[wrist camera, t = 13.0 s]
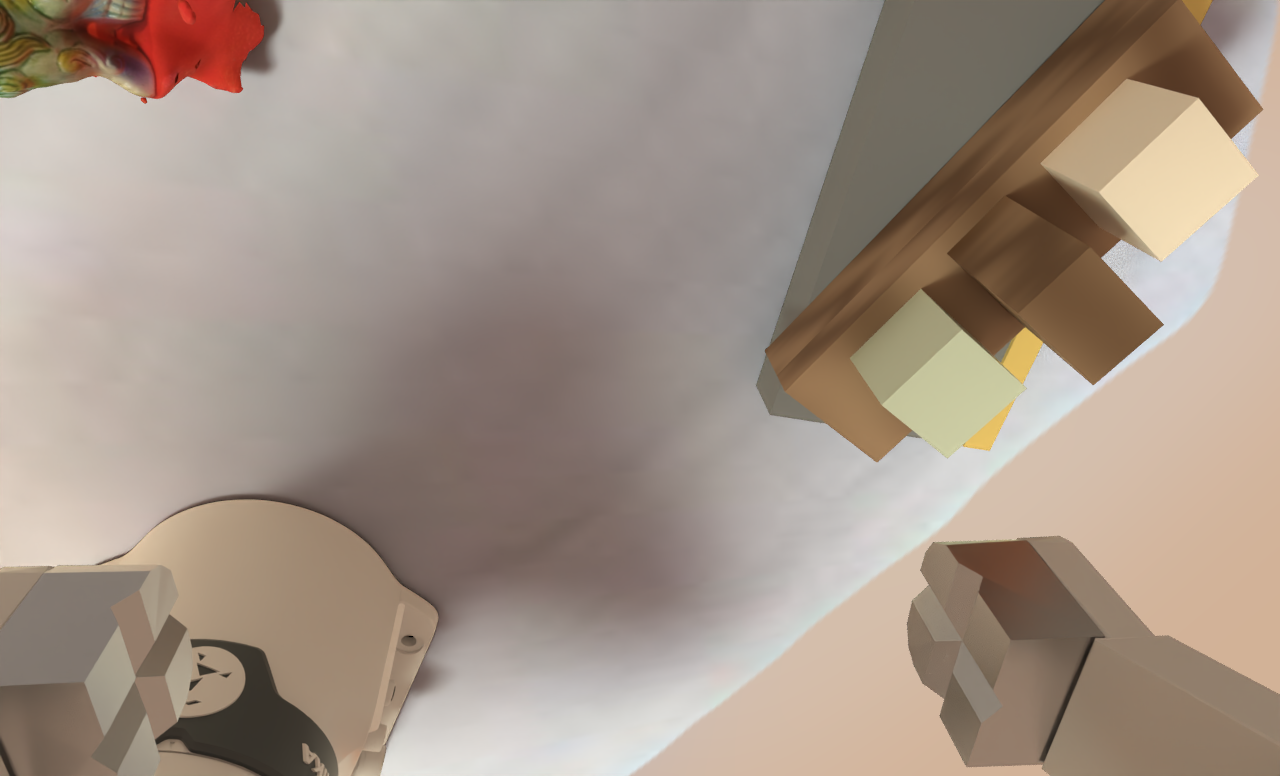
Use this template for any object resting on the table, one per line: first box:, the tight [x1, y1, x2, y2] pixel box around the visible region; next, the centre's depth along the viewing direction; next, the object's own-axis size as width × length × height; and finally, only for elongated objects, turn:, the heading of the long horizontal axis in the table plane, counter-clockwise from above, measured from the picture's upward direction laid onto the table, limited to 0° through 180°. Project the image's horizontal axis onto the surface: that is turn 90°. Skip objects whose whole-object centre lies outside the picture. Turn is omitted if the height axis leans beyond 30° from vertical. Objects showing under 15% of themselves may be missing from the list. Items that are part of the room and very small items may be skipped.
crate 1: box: [850, 289, 1027, 458], centre depth 34 cm, size 4×4×4 cm
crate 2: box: [1040, 79, 1259, 262], centre depth 31 cm, size 4×4×4 cm
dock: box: [756, 0, 1213, 451], centre depth 39 cm, size 22×12×3 cm, turn 167°
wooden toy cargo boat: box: [765, 0, 1263, 462], centre depth 34 cm, size 20×6×10 cm, turn 140°
